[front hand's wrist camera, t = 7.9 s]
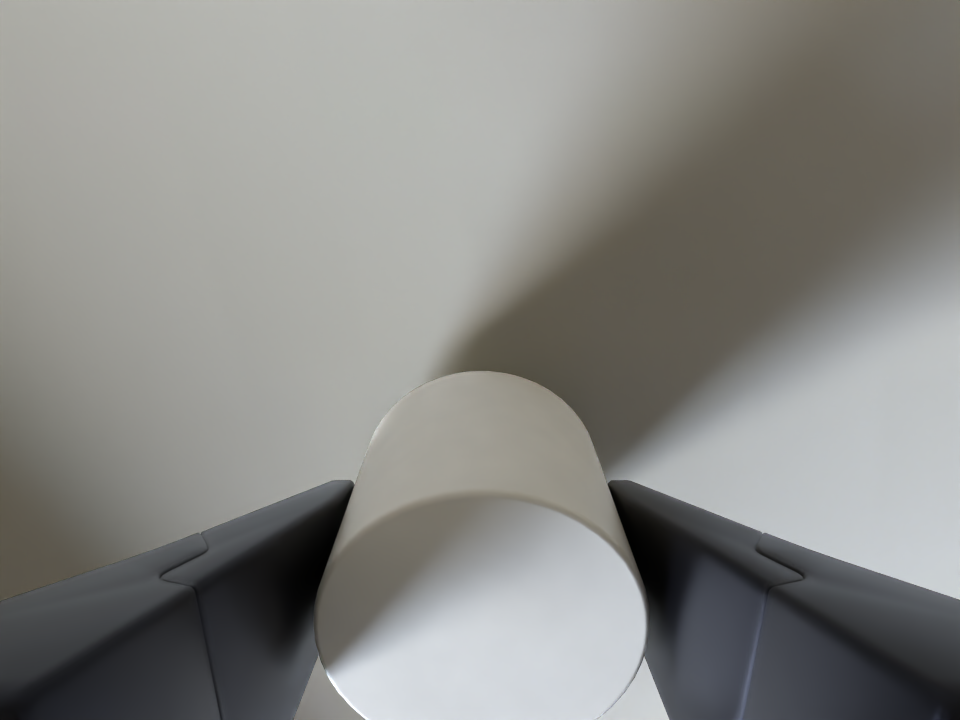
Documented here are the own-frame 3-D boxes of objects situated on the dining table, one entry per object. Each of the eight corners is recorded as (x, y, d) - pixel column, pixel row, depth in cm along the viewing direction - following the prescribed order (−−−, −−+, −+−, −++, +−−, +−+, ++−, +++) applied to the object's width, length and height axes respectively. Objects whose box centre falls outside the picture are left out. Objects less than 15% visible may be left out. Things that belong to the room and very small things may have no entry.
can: (645, 467, 12) (722, 625, 8) (490, 606, 14) (495, 802, 10) (469, 320, 11) (464, 422, 7) (319, 485, 13) (244, 650, 9)
